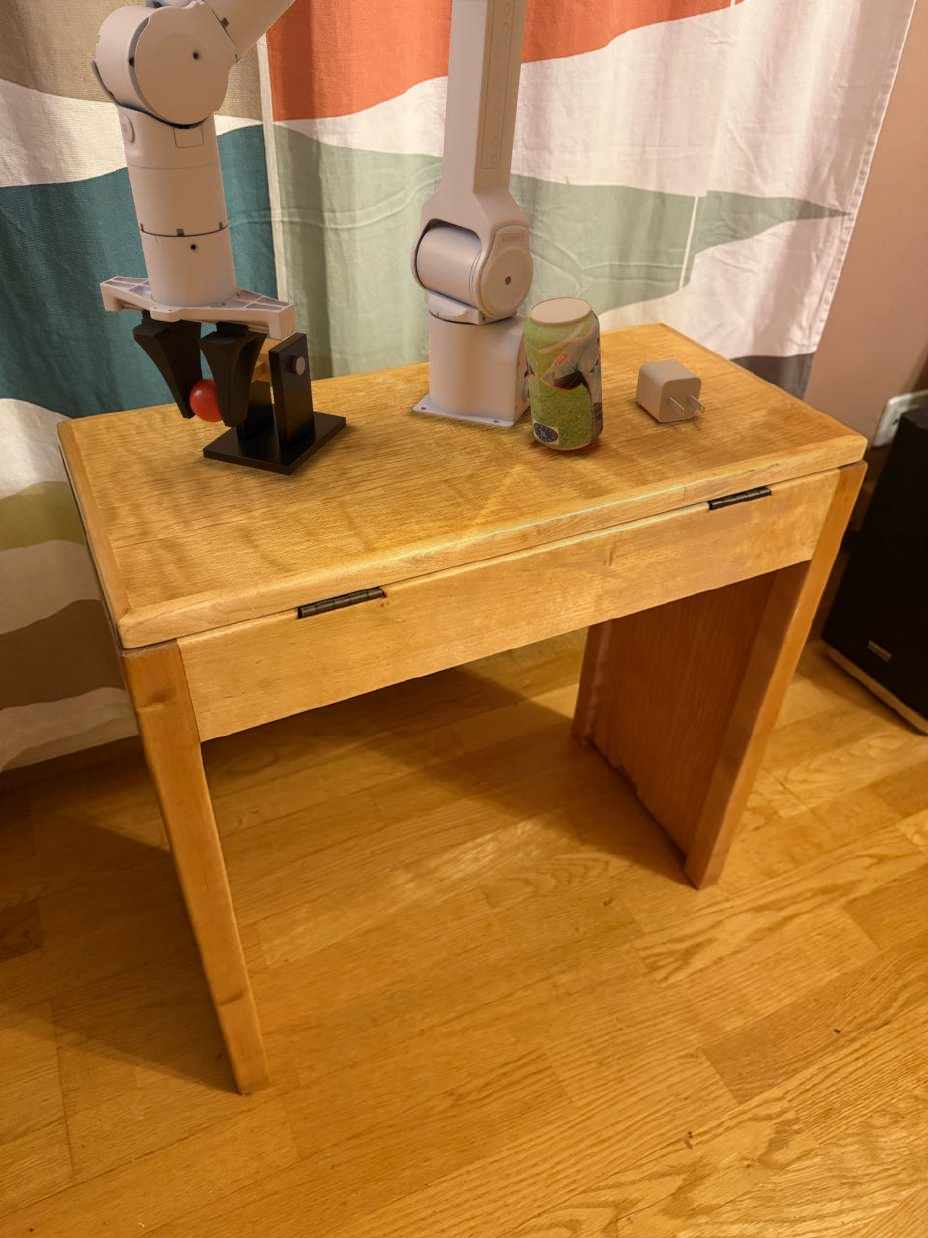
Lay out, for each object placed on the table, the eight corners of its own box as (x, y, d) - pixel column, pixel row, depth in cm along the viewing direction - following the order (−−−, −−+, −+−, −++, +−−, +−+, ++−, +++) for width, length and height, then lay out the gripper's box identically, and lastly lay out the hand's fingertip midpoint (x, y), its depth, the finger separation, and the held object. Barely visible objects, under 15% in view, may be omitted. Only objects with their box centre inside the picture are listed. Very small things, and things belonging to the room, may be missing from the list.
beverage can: (615, 446, 79) (633, 306, 71) (547, 467, 75) (558, 323, 68) (570, 419, 83) (582, 284, 76) (503, 437, 80) (510, 299, 72)
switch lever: (221, 432, 67) (214, 391, 65) (184, 425, 68) (176, 384, 66) (296, 375, 75) (292, 337, 73) (262, 369, 76) (257, 331, 74)
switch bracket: (289, 480, 73) (277, 368, 67) (204, 461, 75) (185, 352, 70) (347, 429, 80) (339, 324, 75) (267, 414, 83) (255, 311, 77)
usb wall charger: (672, 399, 87) (679, 358, 84) (710, 429, 82) (718, 387, 79) (634, 403, 86) (640, 362, 83) (669, 435, 80) (677, 392, 78)
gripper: (52, 227, 59) (99, 421, 67) (246, 254, 55) (271, 457, 63) (122, 203, 64) (158, 386, 73) (304, 226, 60) (320, 417, 69)
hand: (214, 417), depth 68 cm, fingers closed on switch lever, 3 cm apart
